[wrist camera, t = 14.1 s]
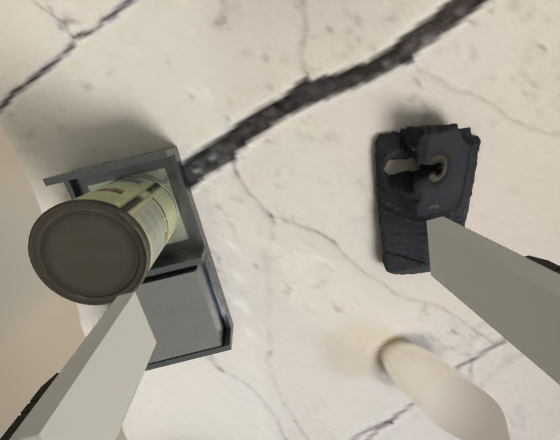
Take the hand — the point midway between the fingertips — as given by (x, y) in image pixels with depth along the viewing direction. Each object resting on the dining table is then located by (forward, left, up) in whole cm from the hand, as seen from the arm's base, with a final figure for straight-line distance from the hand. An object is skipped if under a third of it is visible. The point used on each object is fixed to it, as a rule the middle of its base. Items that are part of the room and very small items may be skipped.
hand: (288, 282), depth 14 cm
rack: (+8, -17, -31) cm, 36 cm away
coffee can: (+1, -17, -30) cm, 34 cm away
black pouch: (+9, +22, -31) cm, 39 cm away
